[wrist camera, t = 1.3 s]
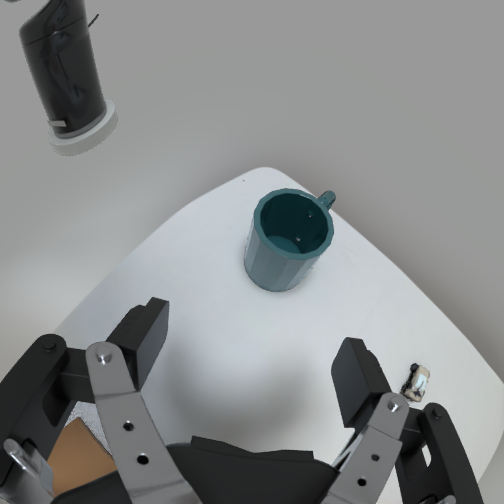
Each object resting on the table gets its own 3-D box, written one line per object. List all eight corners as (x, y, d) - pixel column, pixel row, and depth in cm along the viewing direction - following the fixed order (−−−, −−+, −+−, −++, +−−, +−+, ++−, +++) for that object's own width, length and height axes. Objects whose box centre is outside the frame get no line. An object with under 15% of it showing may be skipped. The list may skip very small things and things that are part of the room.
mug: (276, 304, 26) (299, 276, 19) (231, 259, 28) (236, 217, 21) (333, 246, 30) (365, 207, 23) (292, 208, 31) (312, 162, 24)
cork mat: (18, 465, 14) (16, 466, 13) (79, 416, 19) (76, 417, 18) (101, 553, 10) (100, 555, 10) (179, 517, 16) (178, 520, 15)
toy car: (426, 373, 24) (437, 371, 23) (412, 404, 23) (423, 404, 21) (412, 363, 25) (423, 361, 23) (397, 395, 23) (408, 395, 21)
